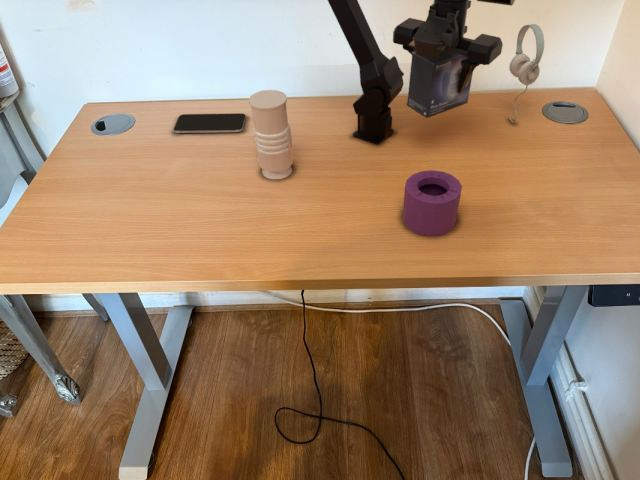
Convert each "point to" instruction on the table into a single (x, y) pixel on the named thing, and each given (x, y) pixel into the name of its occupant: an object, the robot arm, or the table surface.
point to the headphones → (527, 59)
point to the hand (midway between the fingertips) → (440, 87)
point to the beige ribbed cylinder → (272, 133)
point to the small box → (437, 83)
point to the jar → (431, 202)
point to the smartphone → (209, 123)
